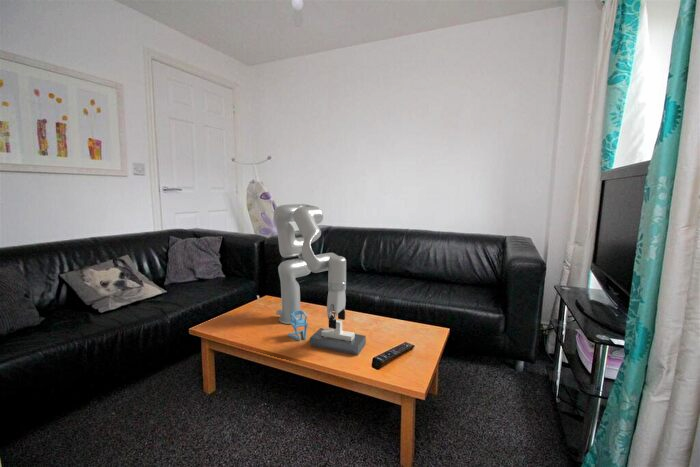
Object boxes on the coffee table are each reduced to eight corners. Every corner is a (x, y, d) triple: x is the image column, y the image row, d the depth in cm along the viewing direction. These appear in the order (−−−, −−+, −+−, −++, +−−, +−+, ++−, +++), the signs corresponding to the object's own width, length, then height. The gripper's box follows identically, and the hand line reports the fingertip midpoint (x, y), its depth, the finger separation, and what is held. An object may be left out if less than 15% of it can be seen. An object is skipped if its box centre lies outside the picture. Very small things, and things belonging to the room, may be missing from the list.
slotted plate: (310, 346, 139) (310, 337, 138) (320, 336, 148) (320, 328, 147) (357, 355, 131) (357, 346, 130) (365, 344, 140) (365, 335, 139)
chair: (294, 342, 142) (294, 317, 140) (287, 335, 149) (287, 311, 147) (310, 338, 146) (310, 313, 144) (303, 331, 153) (302, 307, 151)
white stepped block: (321, 343, 140) (321, 320, 139) (325, 339, 144) (325, 317, 142) (351, 349, 135) (351, 325, 133) (354, 344, 139) (354, 321, 137)
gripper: (337, 278, 145) (337, 314, 148) (320, 290, 129) (320, 330, 132) (352, 280, 142) (352, 317, 145) (337, 292, 126) (337, 333, 129)
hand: (337, 323), depth 138 cm, fingers open, 9 cm apart
